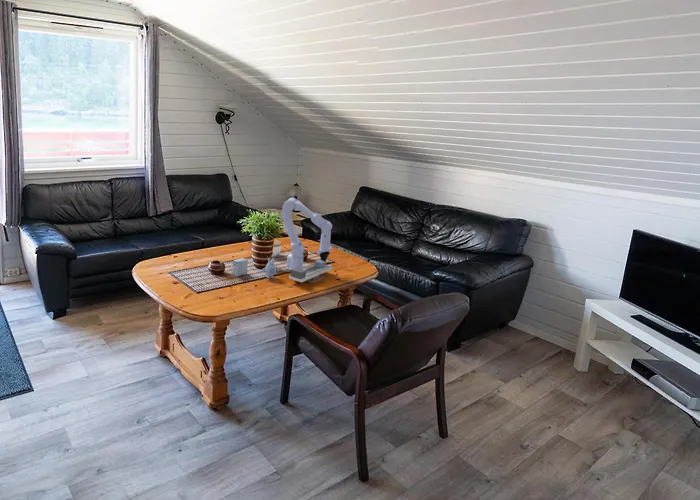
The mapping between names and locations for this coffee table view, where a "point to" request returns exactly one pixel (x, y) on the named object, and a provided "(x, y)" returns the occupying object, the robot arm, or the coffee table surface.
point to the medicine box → (239, 267)
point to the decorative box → (276, 247)
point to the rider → (319, 264)
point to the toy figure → (270, 268)
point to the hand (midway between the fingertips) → (323, 263)
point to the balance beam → (309, 274)
